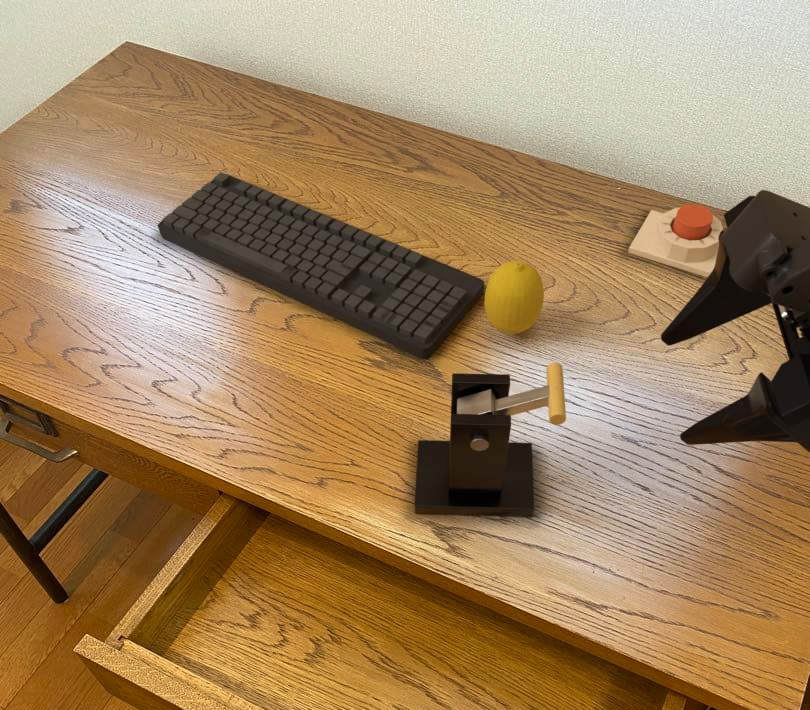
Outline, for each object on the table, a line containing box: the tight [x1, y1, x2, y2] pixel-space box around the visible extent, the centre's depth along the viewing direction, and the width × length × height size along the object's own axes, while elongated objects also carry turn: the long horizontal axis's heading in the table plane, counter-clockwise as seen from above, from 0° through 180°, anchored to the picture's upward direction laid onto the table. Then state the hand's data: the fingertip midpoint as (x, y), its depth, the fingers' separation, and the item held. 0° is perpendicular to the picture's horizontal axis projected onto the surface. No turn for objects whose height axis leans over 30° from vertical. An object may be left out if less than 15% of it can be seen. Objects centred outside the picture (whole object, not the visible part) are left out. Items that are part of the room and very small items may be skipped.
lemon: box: [484, 260, 545, 335], centre depth 70 cm, size 6×6×8 cm
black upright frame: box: [414, 373, 535, 518], centre depth 60 cm, size 10×7×11 cm
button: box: [673, 204, 714, 241], centre depth 77 cm, size 4×4×2 cm
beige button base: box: [627, 207, 725, 279], centre depth 78 cm, size 10×7×2 cm
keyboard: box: [157, 171, 485, 360], centre depth 79 cm, size 35×11×2 cm, turn 57°
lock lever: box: [457, 362, 567, 426], centre depth 56 cm, size 8×5×2 cm, turn 87°
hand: (673, 388), depth 53 cm, fingers open, 9 cm apart
